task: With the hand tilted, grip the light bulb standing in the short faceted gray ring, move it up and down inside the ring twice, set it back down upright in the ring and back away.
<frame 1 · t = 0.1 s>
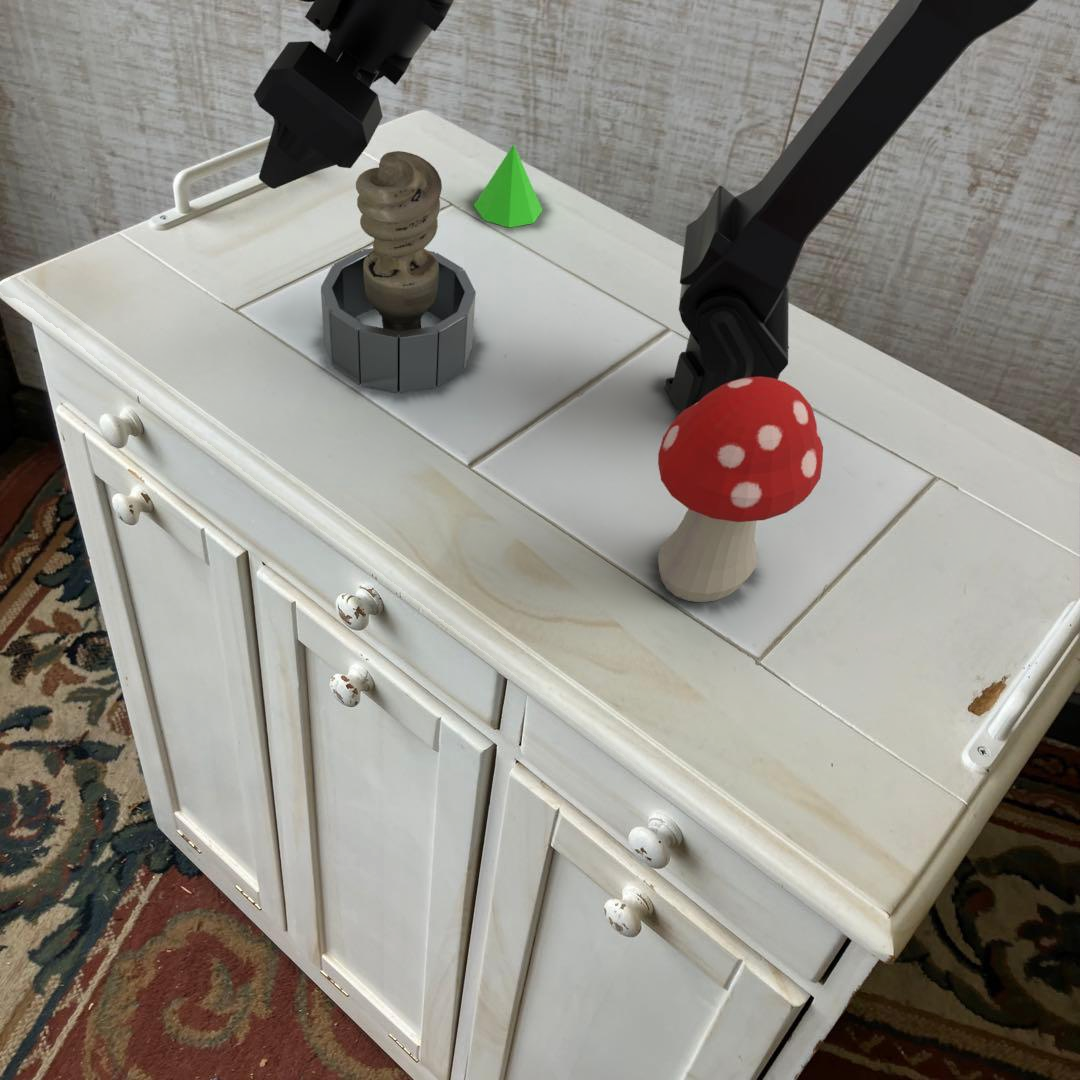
hand: (289, 145, 70), 15 cm above the cabinet, tool tilted 35°, fingers open, 9 cm apart
light bulb: (398, 347, 81), resting in faceted gray ring
faceted gray ring: (398, 345, 81), on the cabinet
green faceted cone: (508, 210, 95), on the cabinet
decorative mushroom: (702, 572, 69), on the cabinet
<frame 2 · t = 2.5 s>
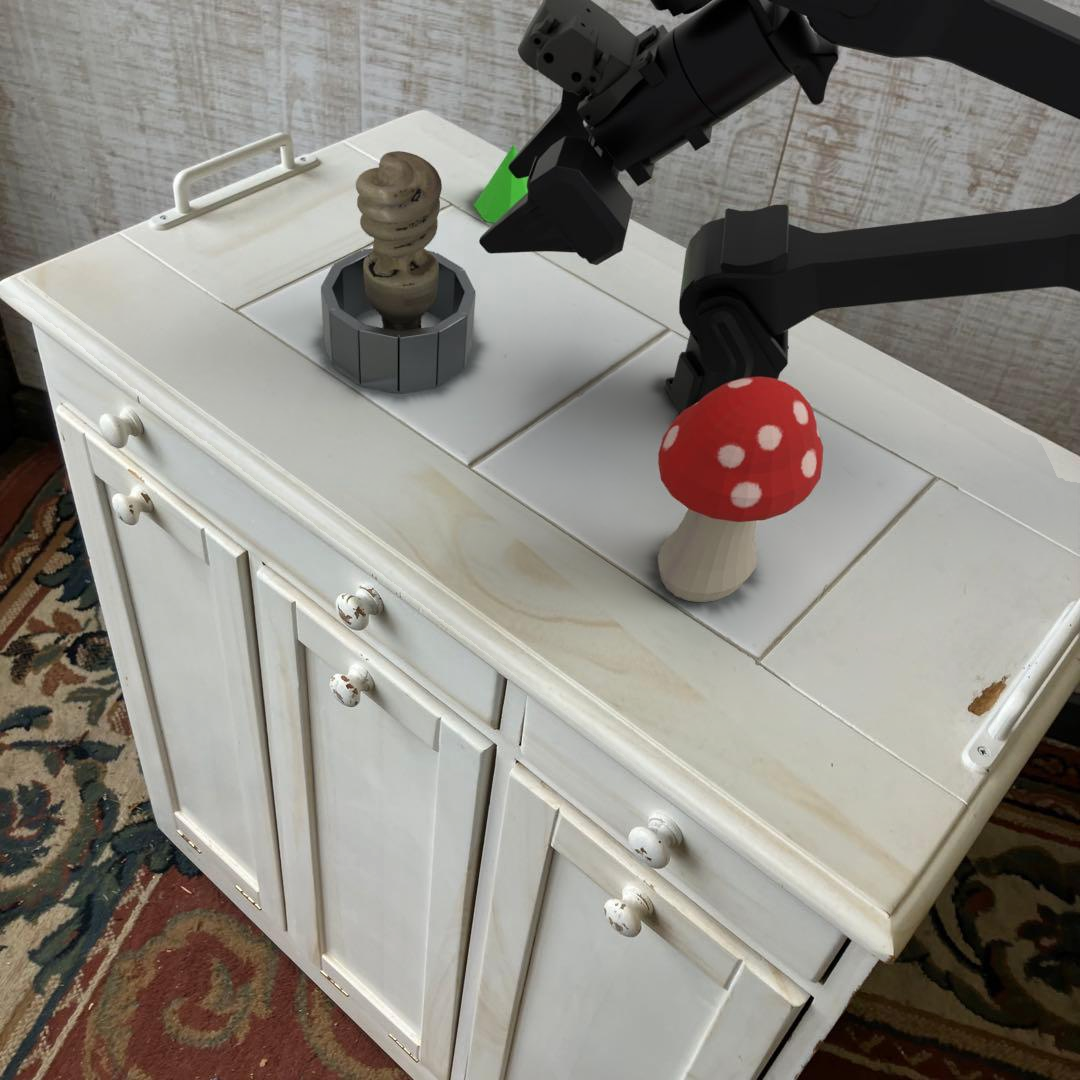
hand: (498, 207, 71), 13 cm above the cabinet, tool tilted 45°, fingers open, 9 cm apart
nothing on the cabinet moved.
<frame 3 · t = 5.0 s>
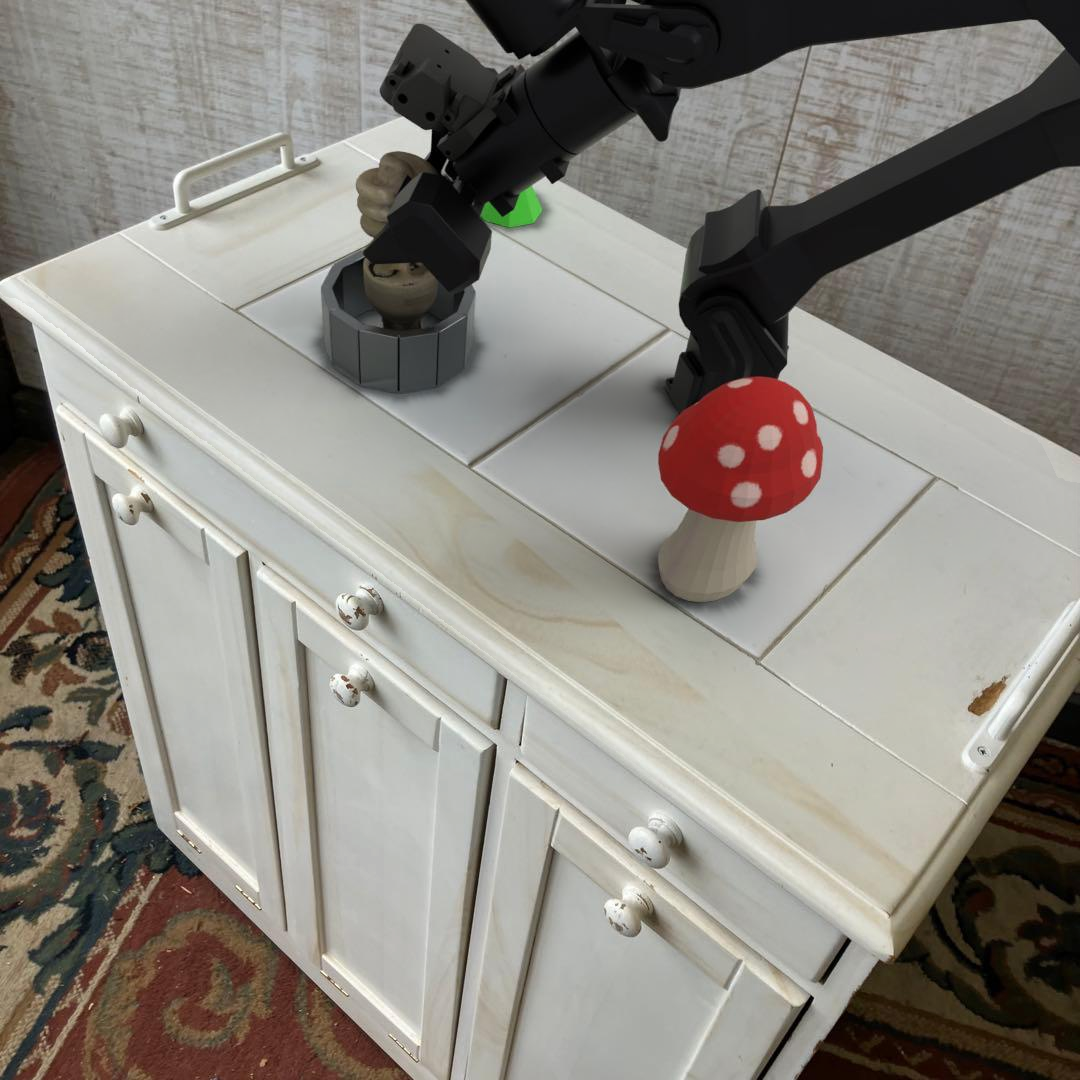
hand: (379, 235, 74), 9 cm above the cabinet, tool tilted 45°, fingers closed on light bulb, 5 cm apart
light bulb: (398, 347, 81), resting in faceted gray ring, touching gripper
everything else where it was.
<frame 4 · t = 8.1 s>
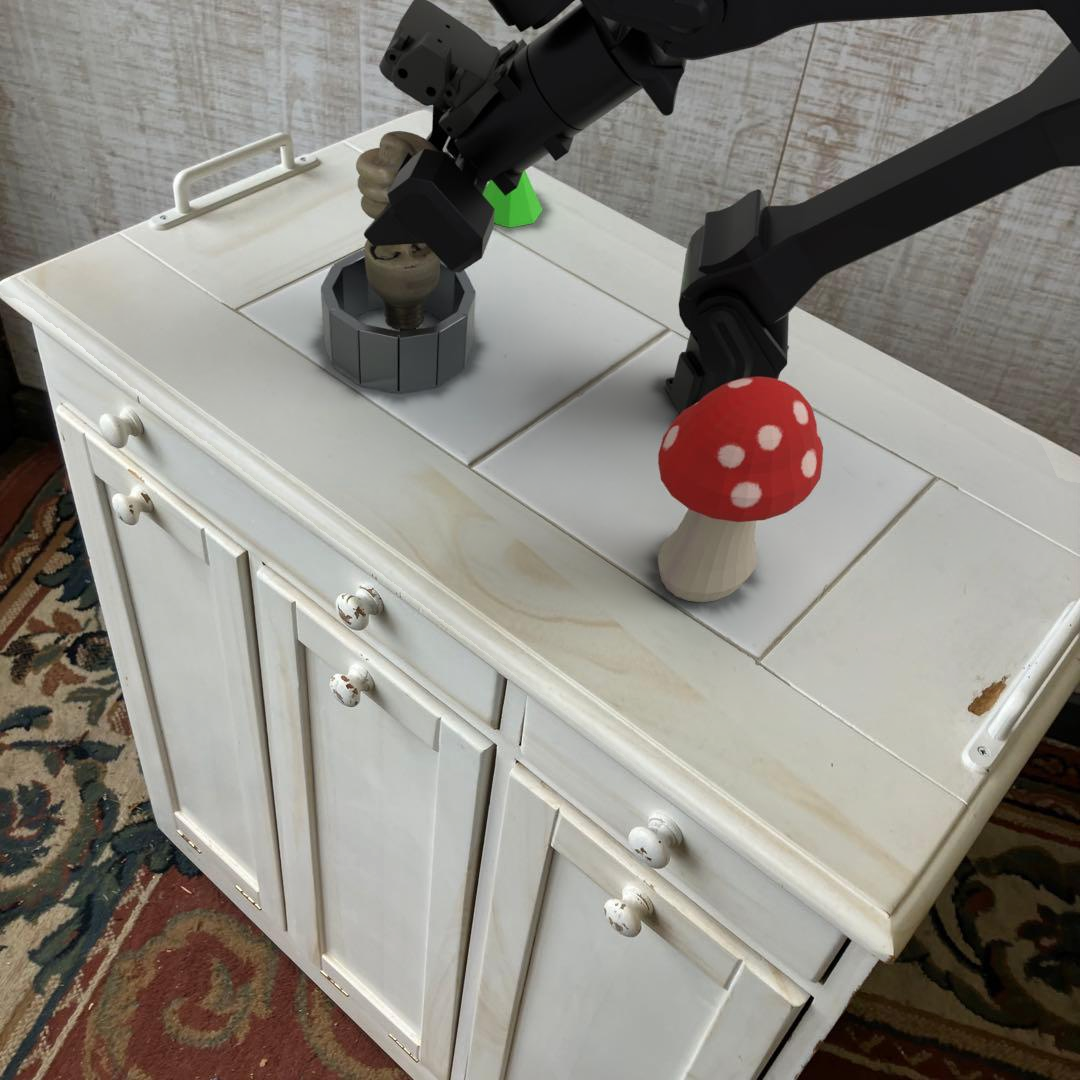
hand: (380, 217, 73), 11 cm above the cabinet, tool tilted 45°, fingers closed on light bulb, 5 cm apart
light bulb: (401, 332, 80), point 1 cm above the cabinet, touching gripper
everything else where it was.
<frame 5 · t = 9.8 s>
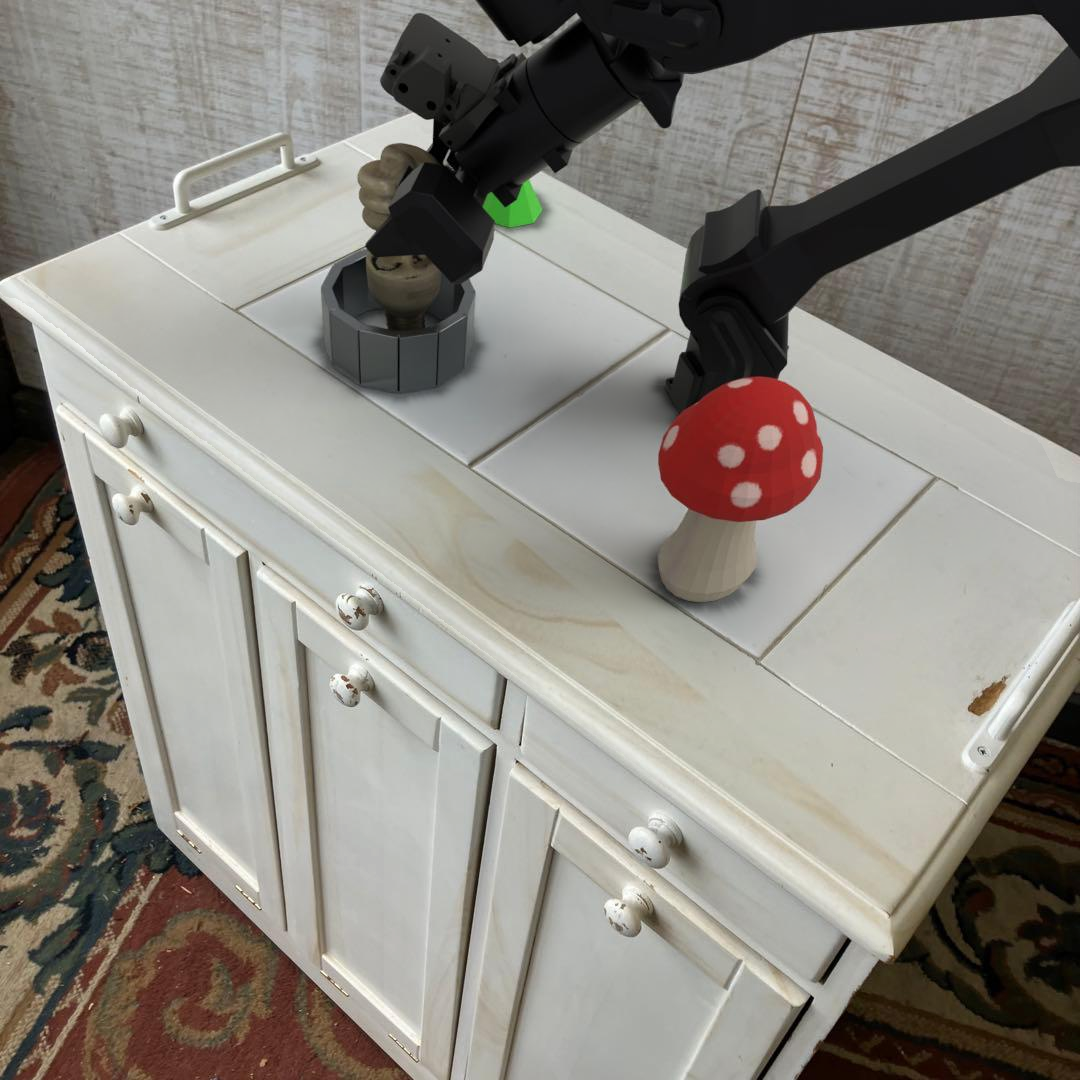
hand: (381, 228, 74), 10 cm above the cabinet, tool tilted 45°, fingers closed on light bulb, 5 cm apart
light bulb: (402, 341, 81), resting in faceted gray ring, touching gripper
everything else where it was.
when the fingers open (9 cm above the cabinet, at t = 10.6 s): light bulb stays where it is, resting in faceted gray ring.
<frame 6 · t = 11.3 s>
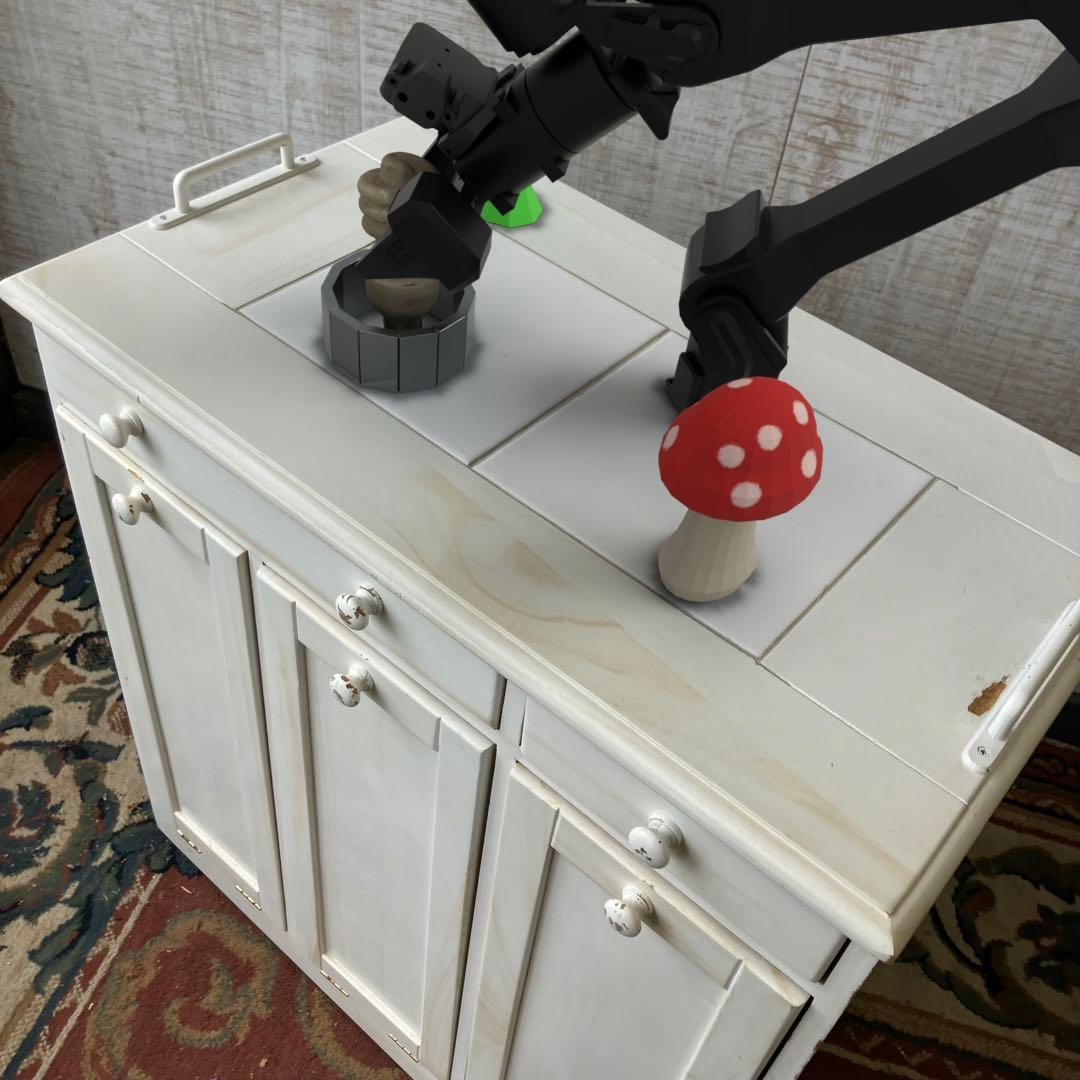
hand: (379, 234, 74), 9 cm above the cabinet, tool tilted 45°, fingers open, 9 cm apart
light bulb: (400, 347, 81), resting in faceted gray ring
everything else where it was.
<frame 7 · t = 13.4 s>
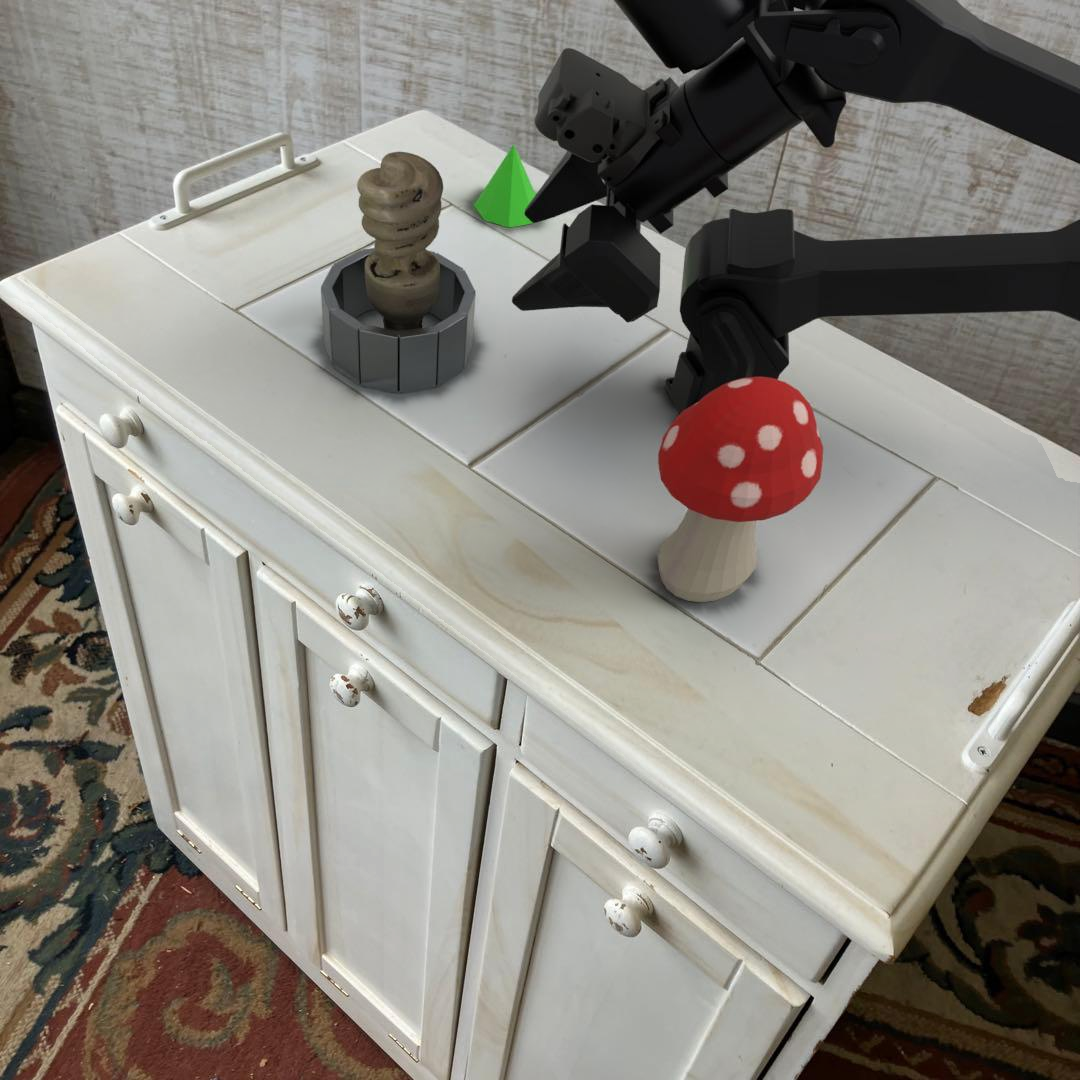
hand: (522, 259, 73), 10 cm above the cabinet, tool tilted 40°, fingers open, 9 cm apart
nothing on the cabinet moved.
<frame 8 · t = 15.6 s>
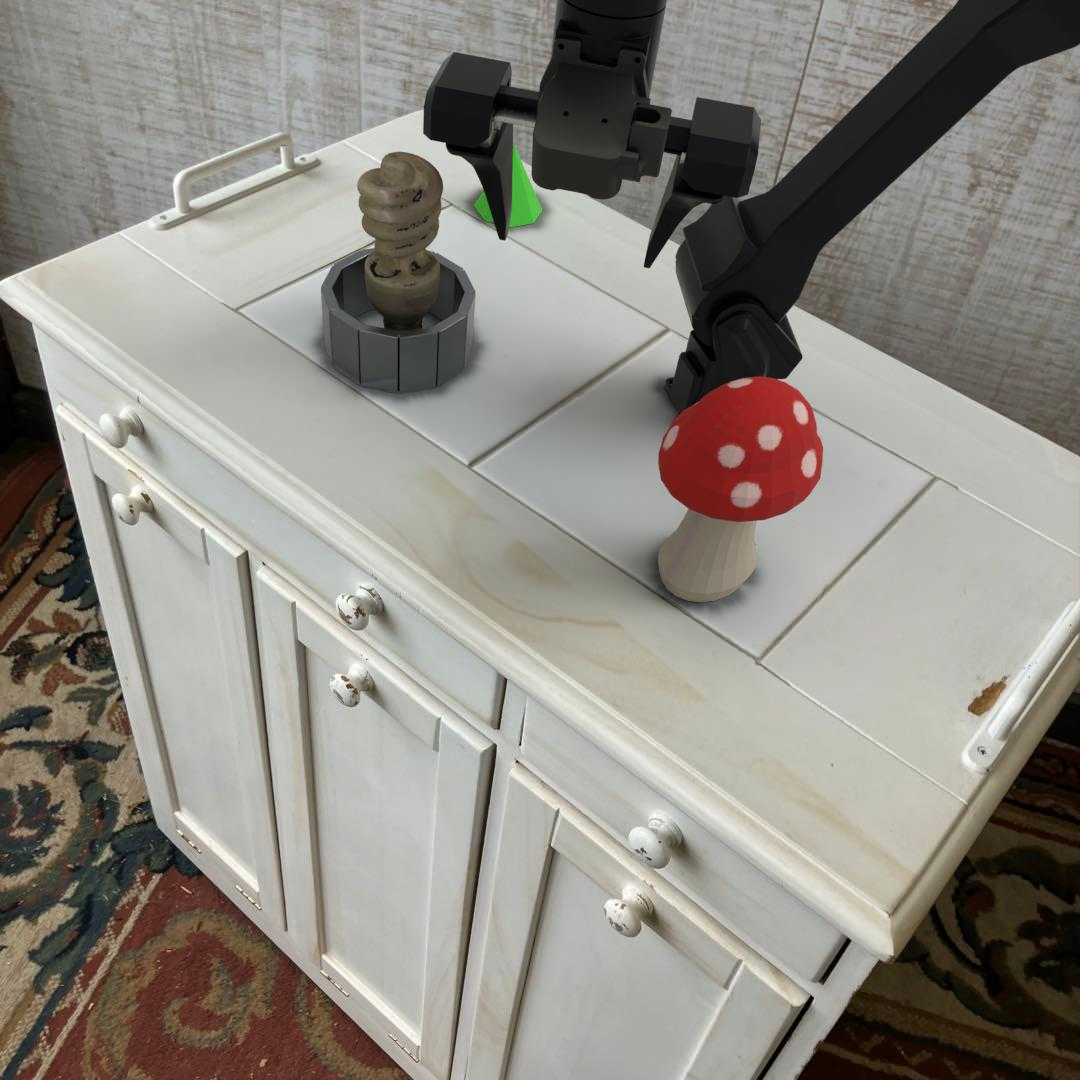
hand: (575, 250, 68), 13 cm above the cabinet, tool pointing down, fingers open, 9 cm apart
nothing on the cabinet moved.
at the end: light bulb 0.1 cm off-centre on the faceted gray ring, point 0.0 cm above the faceted gray ring's base; light bulb tilted 0°; green faceted cone moved 0.2 cm from its start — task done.
